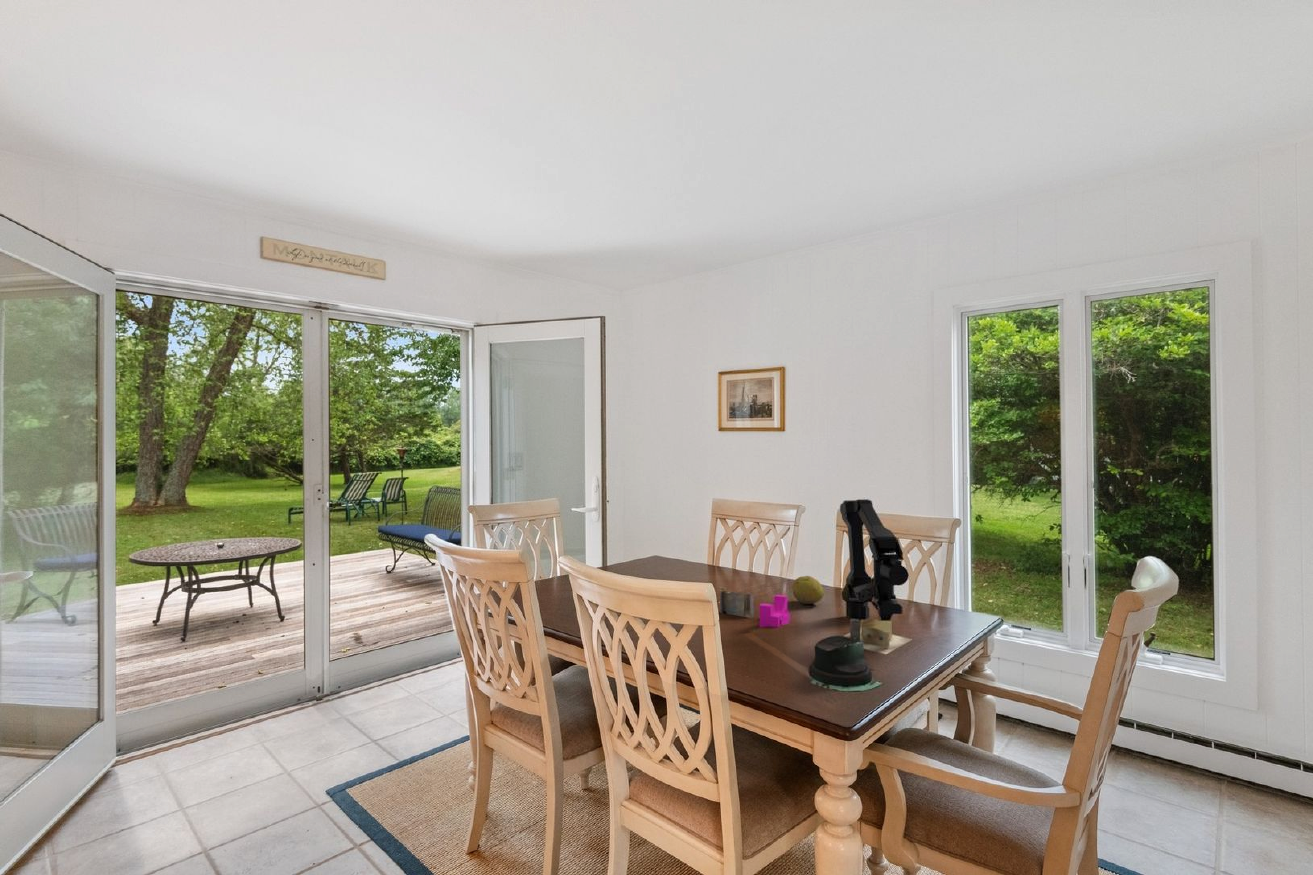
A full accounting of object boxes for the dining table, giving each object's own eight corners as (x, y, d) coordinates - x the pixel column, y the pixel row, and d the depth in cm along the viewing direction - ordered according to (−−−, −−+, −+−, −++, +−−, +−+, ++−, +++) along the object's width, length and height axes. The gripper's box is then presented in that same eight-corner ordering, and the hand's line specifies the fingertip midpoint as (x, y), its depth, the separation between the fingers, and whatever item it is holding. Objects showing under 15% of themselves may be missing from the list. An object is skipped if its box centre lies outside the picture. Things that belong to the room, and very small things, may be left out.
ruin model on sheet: (719, 614, 211) (719, 586, 211) (723, 612, 214) (723, 584, 214) (750, 619, 205) (749, 590, 205) (753, 617, 208) (753, 588, 208)
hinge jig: (833, 644, 178) (833, 621, 178) (861, 631, 190) (861, 609, 190) (885, 658, 167) (885, 633, 167) (912, 643, 178) (912, 620, 178)
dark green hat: (816, 656, 169) (815, 623, 170) (890, 671, 158) (889, 635, 158) (789, 680, 153) (789, 644, 153) (870, 699, 142) (869, 659, 142)
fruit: (793, 607, 217) (792, 579, 217) (791, 599, 228) (791, 572, 228) (825, 608, 215) (824, 580, 215) (821, 600, 227) (821, 573, 227)
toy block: (778, 631, 191) (777, 607, 191) (759, 628, 195) (759, 605, 195) (794, 619, 204) (794, 596, 204) (776, 616, 207) (776, 594, 207)
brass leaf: (862, 638, 179) (861, 620, 179) (861, 636, 180) (860, 618, 180) (891, 638, 178) (891, 620, 178) (890, 637, 179) (890, 619, 179)
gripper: (850, 568, 191) (850, 617, 191) (861, 584, 172) (862, 638, 173) (887, 568, 189) (887, 618, 190) (902, 585, 171) (903, 639, 171)
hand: (883, 628), depth 181 cm, fingers closed
